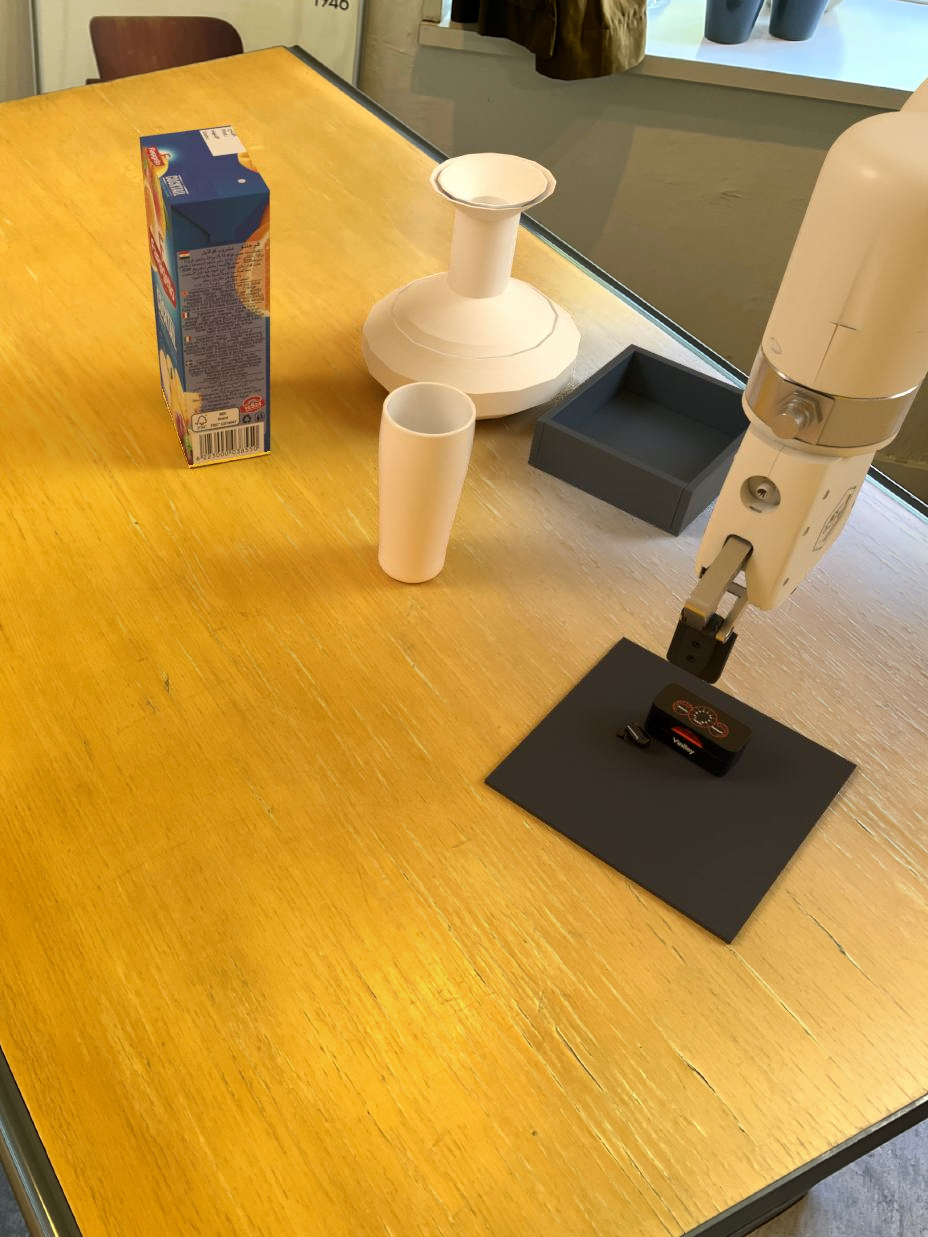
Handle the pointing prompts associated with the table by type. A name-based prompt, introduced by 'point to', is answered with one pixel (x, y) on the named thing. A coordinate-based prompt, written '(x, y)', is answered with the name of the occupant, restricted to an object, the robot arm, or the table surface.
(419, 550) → the drinking glass
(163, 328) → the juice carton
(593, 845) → the mat
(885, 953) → the table surface
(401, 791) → the table surface
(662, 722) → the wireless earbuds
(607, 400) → the box
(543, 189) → the white ceramic vase shape
